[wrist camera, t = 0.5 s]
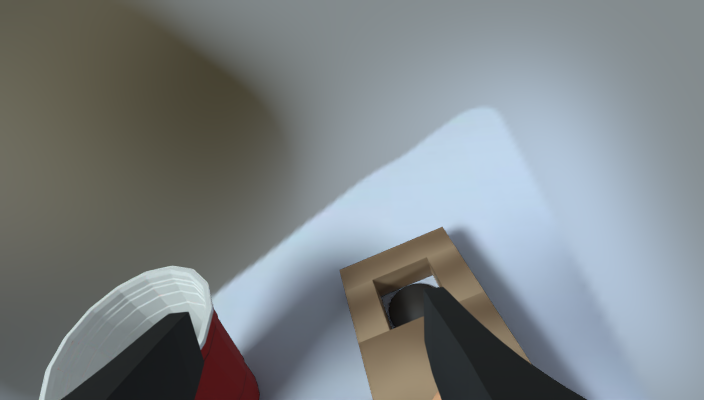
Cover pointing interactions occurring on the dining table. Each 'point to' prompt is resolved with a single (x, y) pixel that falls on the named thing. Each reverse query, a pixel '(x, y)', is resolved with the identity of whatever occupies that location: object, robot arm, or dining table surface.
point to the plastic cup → (135, 319)
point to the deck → (410, 312)
